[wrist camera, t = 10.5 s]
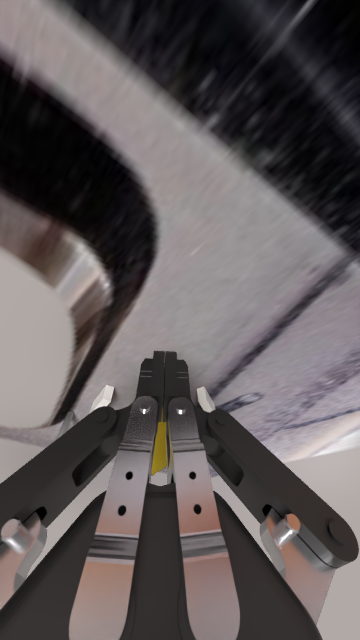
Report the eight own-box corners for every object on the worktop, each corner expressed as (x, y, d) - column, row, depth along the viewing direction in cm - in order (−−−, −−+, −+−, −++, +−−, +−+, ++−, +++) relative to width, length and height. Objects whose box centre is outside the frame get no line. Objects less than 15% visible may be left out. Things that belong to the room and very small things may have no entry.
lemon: (158, 422, 31) (155, 490, 24) (125, 408, 28) (112, 478, 22) (184, 403, 28) (189, 471, 22) (150, 386, 26) (145, 456, 20)
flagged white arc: (219, 386, 27) (273, 587, 14) (202, 444, 34) (227, 611, 21) (58, 383, 25) (-64, 614, 12) (77, 445, 32) (15, 631, 19)
